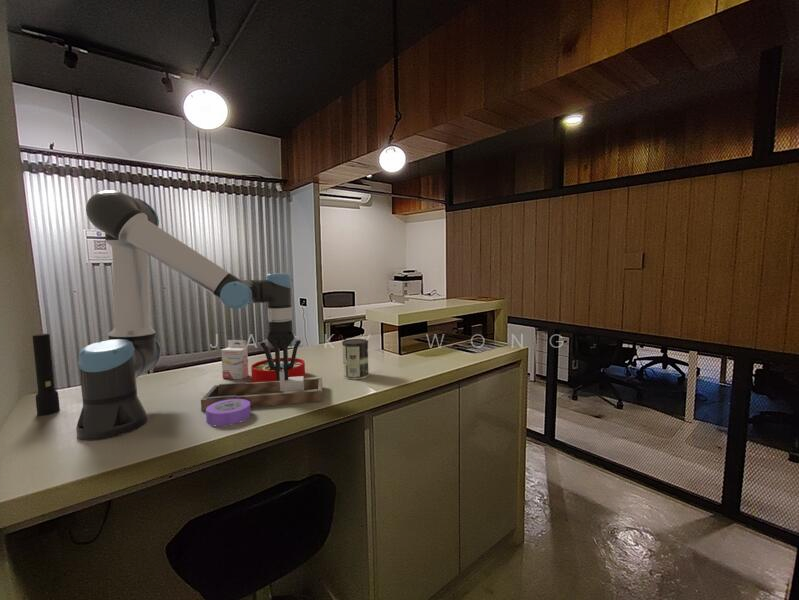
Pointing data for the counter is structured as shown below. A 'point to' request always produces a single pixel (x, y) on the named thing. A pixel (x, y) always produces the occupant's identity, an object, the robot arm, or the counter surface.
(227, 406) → the masking tape
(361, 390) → the counter surface
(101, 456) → the counter surface
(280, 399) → the wooden tray
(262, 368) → the toy clock
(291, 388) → the white cube
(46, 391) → the flashlight
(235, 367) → the ink cartridge box
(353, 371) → the coffee can
